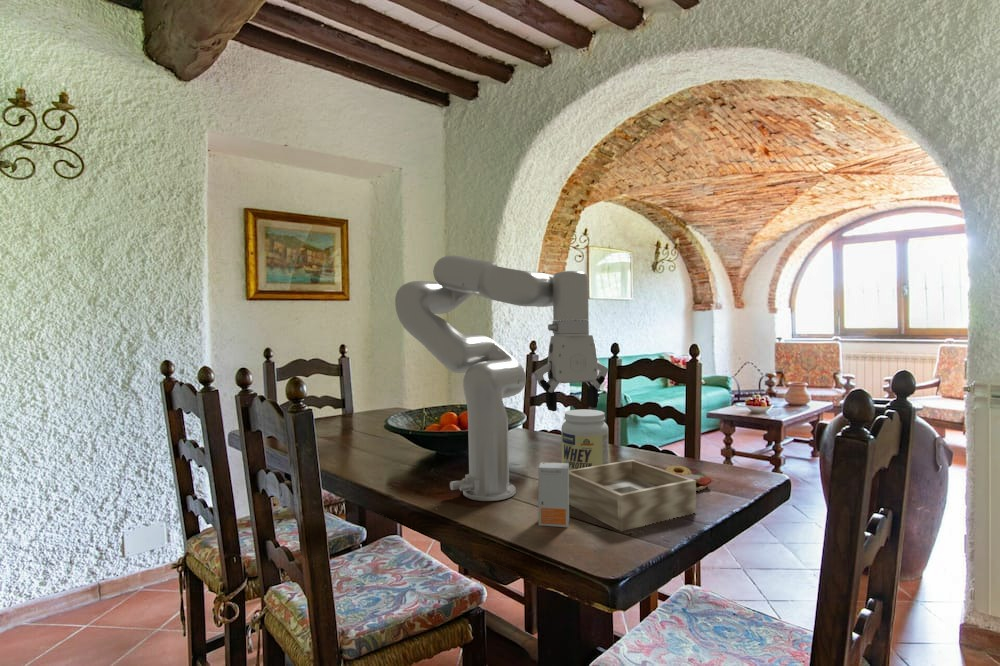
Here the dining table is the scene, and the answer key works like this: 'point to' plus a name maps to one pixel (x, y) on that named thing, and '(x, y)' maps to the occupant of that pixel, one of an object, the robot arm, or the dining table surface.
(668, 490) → the socket box
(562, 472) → the skincare box
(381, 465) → the dining table surface
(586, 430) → the supplement tub
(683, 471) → the toy food set
